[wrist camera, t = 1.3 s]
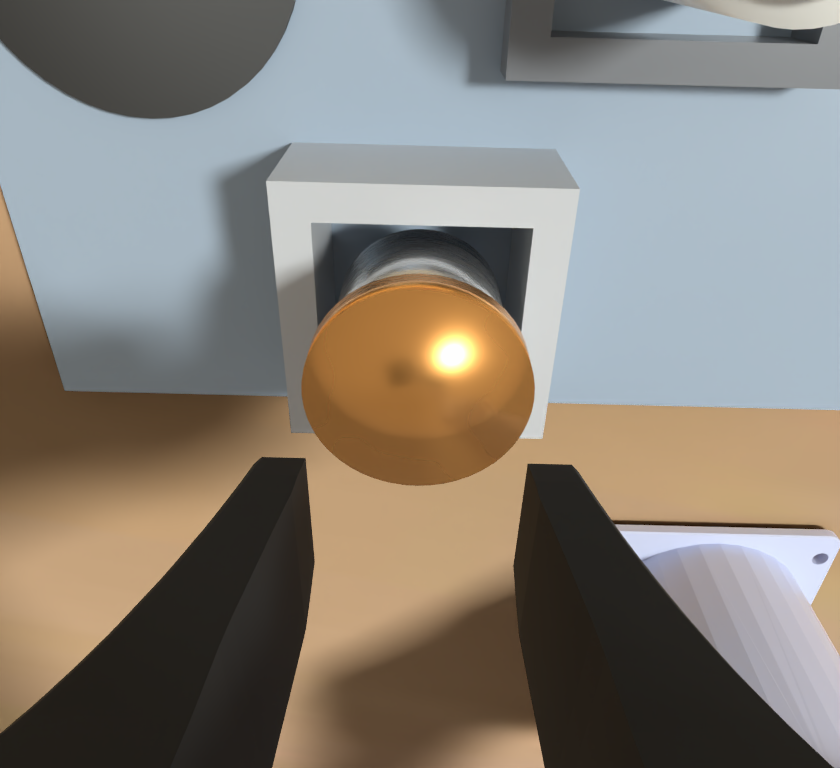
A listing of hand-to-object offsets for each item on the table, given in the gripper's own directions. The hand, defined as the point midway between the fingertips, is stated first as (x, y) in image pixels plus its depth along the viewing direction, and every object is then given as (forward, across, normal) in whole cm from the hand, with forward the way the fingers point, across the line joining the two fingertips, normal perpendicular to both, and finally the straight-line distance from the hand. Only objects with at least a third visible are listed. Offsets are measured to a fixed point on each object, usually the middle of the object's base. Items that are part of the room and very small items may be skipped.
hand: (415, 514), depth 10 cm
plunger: (+7, 0, 0) cm, 7 cm away
